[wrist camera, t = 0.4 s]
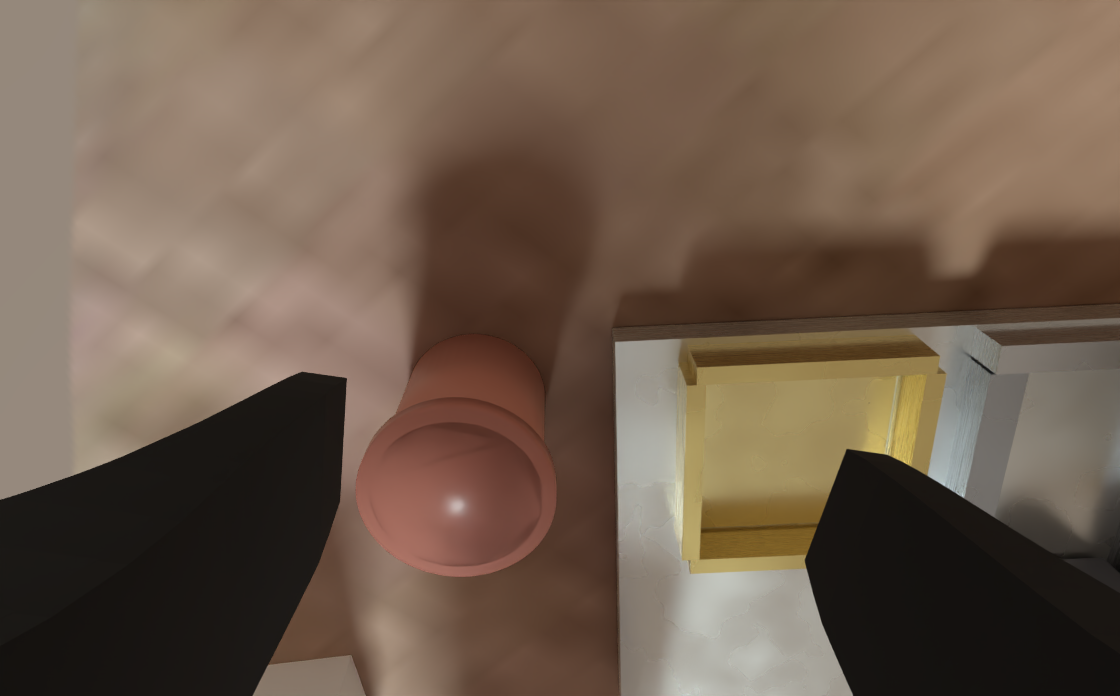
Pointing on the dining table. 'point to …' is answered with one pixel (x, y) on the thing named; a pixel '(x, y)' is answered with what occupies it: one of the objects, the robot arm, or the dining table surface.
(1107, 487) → the panel
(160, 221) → the dining table surface
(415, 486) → the cap
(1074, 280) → the dining table surface
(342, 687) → the white angled block
